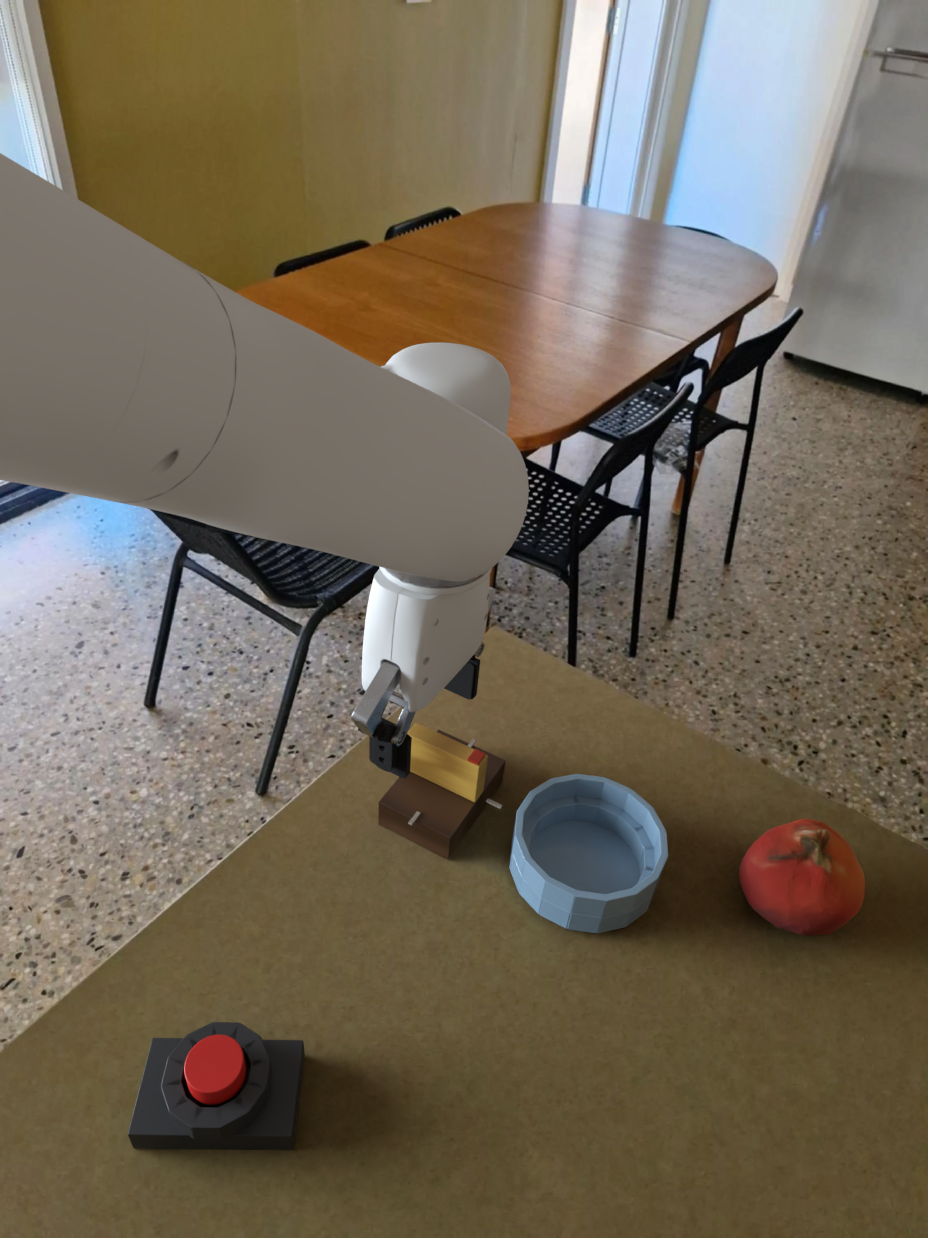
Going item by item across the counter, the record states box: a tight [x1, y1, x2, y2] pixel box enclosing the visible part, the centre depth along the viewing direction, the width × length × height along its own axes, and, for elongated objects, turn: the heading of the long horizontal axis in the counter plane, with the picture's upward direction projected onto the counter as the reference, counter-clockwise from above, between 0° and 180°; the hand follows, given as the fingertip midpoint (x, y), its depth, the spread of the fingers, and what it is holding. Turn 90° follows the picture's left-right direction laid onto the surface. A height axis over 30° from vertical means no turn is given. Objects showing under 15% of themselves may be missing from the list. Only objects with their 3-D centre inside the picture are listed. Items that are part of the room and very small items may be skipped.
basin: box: [508, 773, 669, 934], centre depth 73 cm, size 12×12×5 cm
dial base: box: [377, 729, 506, 861], centre depth 78 cm, size 11×11×3 cm
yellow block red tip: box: [407, 722, 488, 802], centre depth 75 cm, size 7×2×5 cm, turn 61°
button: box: [184, 1035, 246, 1105], centre depth 56 cm, size 4×4×2 cm
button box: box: [127, 1021, 306, 1151], centre depth 57 cm, size 10×6×4 cm, turn 91°
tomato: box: [738, 818, 866, 937], centre depth 71 cm, size 9×9×8 cm
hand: (425, 728), depth 68 cm, fingers open, 9 cm apart
